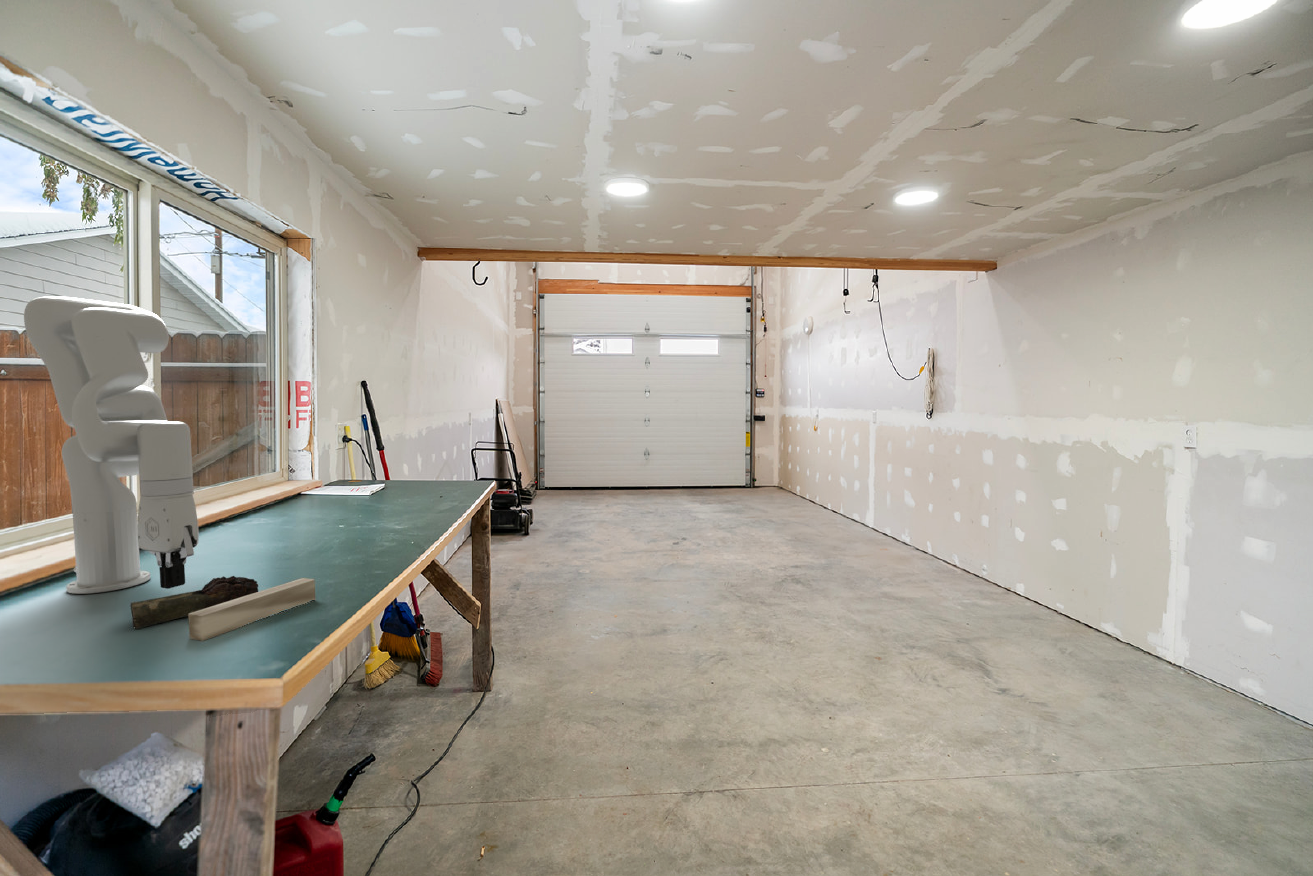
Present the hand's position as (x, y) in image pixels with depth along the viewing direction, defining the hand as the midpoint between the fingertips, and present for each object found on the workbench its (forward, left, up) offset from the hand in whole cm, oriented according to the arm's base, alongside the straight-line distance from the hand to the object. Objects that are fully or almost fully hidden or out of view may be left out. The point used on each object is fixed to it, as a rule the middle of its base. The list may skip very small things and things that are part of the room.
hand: (173, 586), depth 108 cm
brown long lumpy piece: (+10, -2, -4) cm, 10 cm away
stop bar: (+22, 0, -3) cm, 22 cm away
